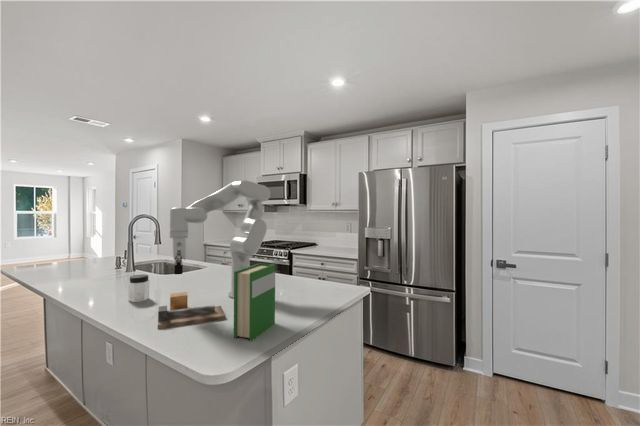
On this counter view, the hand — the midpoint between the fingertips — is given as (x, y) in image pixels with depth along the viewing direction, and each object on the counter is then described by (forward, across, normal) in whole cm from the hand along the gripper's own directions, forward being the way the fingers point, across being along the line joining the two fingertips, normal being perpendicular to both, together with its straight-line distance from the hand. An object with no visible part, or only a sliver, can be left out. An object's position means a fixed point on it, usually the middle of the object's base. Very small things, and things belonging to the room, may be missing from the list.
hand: (178, 272), depth 137 cm
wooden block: (+17, 0, 0) cm, 17 cm away
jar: (+18, +24, +18) cm, 35 cm away
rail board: (+17, -14, -6) cm, 23 cm away
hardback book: (+17, -37, -27) cm, 49 cm away
